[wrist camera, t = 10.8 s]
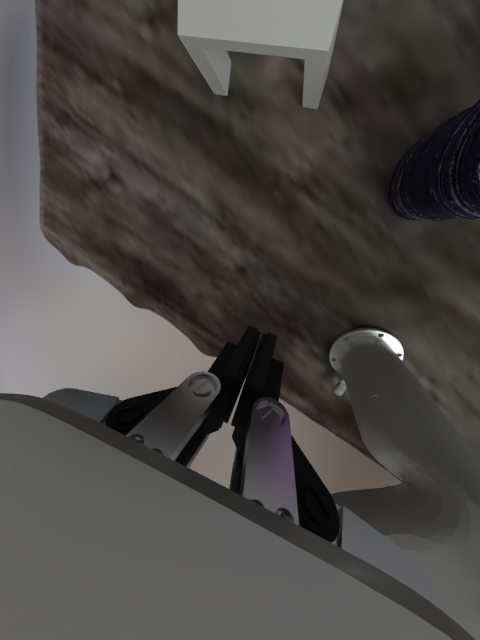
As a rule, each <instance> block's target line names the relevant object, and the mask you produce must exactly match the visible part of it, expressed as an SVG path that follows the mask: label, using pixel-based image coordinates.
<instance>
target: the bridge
mask: <svg viewBox="0 0 480 640" xmlns="http://www.w3.org/2000/svg"><path fill="white" fill-rule="evenodd" d="M342 5H343V0H178V37H179V38H180V40H181V41H182V43H183V45H184V46H185V48H186V49H187V51H188V53H189V54H190V56H191V58H192V59H193V61H194V62H195V64H196V66H197V67H198V69H199V70H200V72H201V74H202V75H203V77H204V78H205V80H206V82H207V83H208V85H209V86H210V88H211V90H212V91H213V93H214V94H218V95H224V96H228V88H229V79H230V70H231V60H230V58H229V55H228V53H227V51H236V52H245V53H254V54H262V55H271V56H280V57H289V58H298V59H305V66H304V85H303V103H302V107H304V108H311V109H318V106H319V103H320V99H321V96H322V92H323V89H324V86H325V82H326V79H327V75H328V71H329V66H330V62H331V57H332V52H333V47H334V43H335V38H336V33H337V28H338V24H339V19H340V14H341V10H342Z"/></svg>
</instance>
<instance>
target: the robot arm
mask: <svg viewBox="0 0 480 640" xmlns="http://www.w3.org/2000/svg"><path fill="white" fill-rule="evenodd" d="M257 330H258V329H257V328H254V327H251V326H248V328H247V329H246V331H245V333H244V335H243V336H242V338H241V340H240V342H239V343H238V345H235V344H232V343H230V342H228V343H227V344H226V345H225V347H224V348H223V350H222V351H221V353H220V354H219V356H218V357H217V359H216V360H215V362H214V363H213V365H212V366H211V368H210V369H209V370H208V372H204V371H201V372H196V373H193V374H192V375H190V376H189V377H188V378H187V379H186V380H185V381H183V382H182V383H181V384H180V385H179V386H178V387H174V388H170V389H166V390H162V391H158V392H153V393H150V394H145V395H141V396H137V397H133V398H129V399H126V400H123V401H122V400H119V397H115V396H110V395H104V394H99V393H93V392H89V391H83V390H78V389H73V388H71V389H70V388H65V389H60V390H57V391H54V392H52V393H49V394H48V395H46V396H45V397H43V398H40V397H35V396H30V395H22V394H6V393H5V394H4V393H0V640H480V458H479V457H478V456H477V455H476V453H475V452H474V451H473V450H472V449H471V447H470V446H469V445H468V444H467V443H466V441H465V440H464V439H463V438H462V437H461V435H460V434H459V433H458V432H457V430H456V429H455V428H454V427H453V425H452V424H451V423H450V421H449V420H448V419H447V418H446V417H445V415H444V414H443V413H442V412H441V410H440V409H439V408H438V406H437V405H436V404H435V403H434V401H433V400H432V399H431V397H430V396H429V395H428V394H427V392H426V391H425V390H424V388H423V387H422V386H421V385H420V383H419V382H418V381H417V379H416V378H415V377H414V376H413V374H412V373H411V372H410V371H409V369H408V368H407V367H406V365H405V364H404V363H403V362H402V360H403V357H404V350H403V347H402V345H401V343H400V342H399V341H398V339H397V338H396V337H395V336H393V335H392V334H391V333H389V332H387V331H384V330H382V329H377V328H358V329H354V330H350V331H348V332H346V333H344V334H342V335H341V336H339V337H338V338H337V339H336V340H335V341H334V342H333V344H332V345H331V347H330V350H329V360H330V363H331V365H332V367H333V368H334V370H335V371H336V372H337V373H339V374H340V378H339V383H337V385H336V386H335V387H334V389H333V391H334V392H335V393H336V394H337V395H339V396H341V395H342V394H343V393H344V392H345V391H346V388H347V391H348V395H349V398H350V401H351V404H352V407H353V411H354V414H355V417H356V420H357V424H358V427H359V430H360V433H361V436H362V439H363V441H364V443H365V445H366V447H367V448H368V450H369V451H370V453H371V454H372V455H373V456H374V457H375V458H376V459H377V460H378V461H379V462H380V463H381V464H382V465H383V466H384V467H385V468H387V469H388V470H389V471H390V472H392V473H393V474H394V475H395V476H397V477H398V478H399V479H401V480H402V483H401V484H399V485H395V486H388V487H385V488H375V489H364V490H352V491H343V492H336V493H333V494H330V493H329V491H328V490H327V488H326V487H325V485H324V484H323V482H322V481H321V479H320V478H319V476H318V475H317V473H316V471H315V470H314V469H313V467H312V465H311V464H310V462H309V461H308V459H307V458H306V456H305V455H304V453H303V452H302V451H301V449H300V447H299V446H298V444H297V443H296V441H295V440H294V438H293V437H292V435H291V430H290V419H289V415H288V412H287V410H286V409H285V407H284V406H283V405H282V404H281V403H280V402H278V401H279V394H280V387H281V379H282V372H283V365H284V363H283V362H281V361H278V360H275V359H273V358H272V355H273V351H274V347H275V343H276V339H277V335H274V334H271V333H269V332H268V334H264V333H263V336H262V339H261V341H260V344H259V346H258V349H257V352H256V354H255V357H254V360H253V362H252V365H251V367H250V364H251V360H252V357H253V354H254V351H255V348H256V345H257V342H258V339H259V336H260V333H261V332H258V331H257ZM249 367H250V370H249V373H248V375H247V372H248V369H249ZM246 375H247V378H246V381H245V383H244V386H243V390H242V393H241V395H240V399H239V402H238V405H237V408H236V411H235V414H234V417H233V420H232V423H231V425H232V426H234V427H235V429H234V432H233V435H232V438H233V440H234V443H235V445H236V451H235V456H234V462H233V469H232V475H231V481H230V487H229V489H228V488H226V487H224V486H222V485H220V484H218V483H216V482H214V481H212V480H210V479H208V478H206V477H205V476H203V475H200V474H199V473H197V472H195V471H193V470H191V469H189V467H190V465H191V463H192V462H193V460H194V459H195V457H196V456H197V454H198V453H199V451H200V449H201V448H202V446H203V445H204V443H205V442H206V440H207V439H208V436H209V434H210V433H213V432H215V431H218V430H219V428H221V426H222V424H223V422H225V423H228V421H229V418H230V416H231V413H232V411H233V408H234V406H235V403H236V400H237V398H238V395H239V393H240V390H241V388H242V385H243V382H244V380H245V377H246Z"/></svg>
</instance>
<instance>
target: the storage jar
mask: <svg viewBox="0 0 480 640" xmlns="http://www.w3.org/2000/svg"><path fill="white" fill-rule="evenodd" d="M387 200H388V203H389V206H390V208H391V210H392V211H393V212H394V213H395V214H396V215H398V216H399V217H401V218H404V219H407V220H420V221H441V220H447V219H452V218H456V217H458V218H463V219H473V220H479V219H480V100H479V101H478V102H477V103H476V104H475V105H473V106H472V107H470V108H468V109H466V110H464V111H462V112H461V113H459V114H457V115H455V116H454V117H452V118H451V119H449V120H447V121H445V122H444V123H442V124H441V125H440V126H438V127H437V128H435V129H434V130H432V131H431V132H430V133H428V134H427V135H426V136H425V137H424V138H422V139H421V140H420V141H418V142H417V143H416V144H414V145H413V146H412V147H411V148H410V149H409V150H408V151H407V152H406V153H405V154H404V155H403V156H402V158H401V159H400V160H399V162H398V163H397V165H396V166H395V168H394V170H393V172H392V174H391V176H390V179H389V182H388V187H387Z"/></svg>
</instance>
